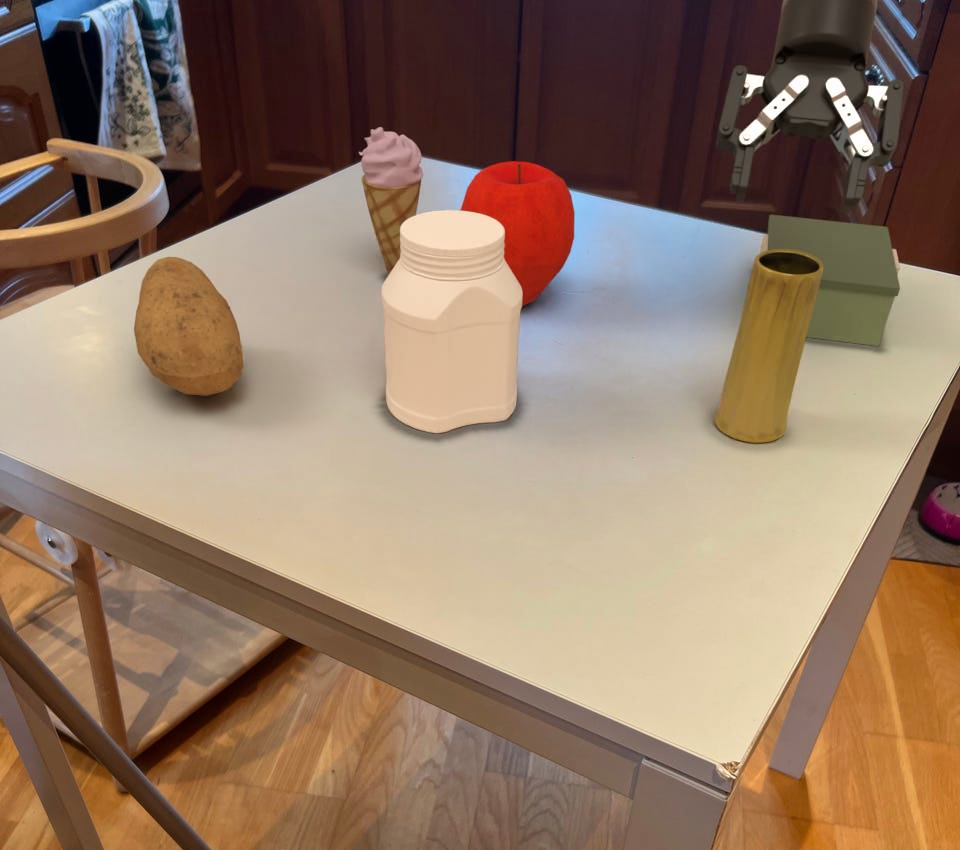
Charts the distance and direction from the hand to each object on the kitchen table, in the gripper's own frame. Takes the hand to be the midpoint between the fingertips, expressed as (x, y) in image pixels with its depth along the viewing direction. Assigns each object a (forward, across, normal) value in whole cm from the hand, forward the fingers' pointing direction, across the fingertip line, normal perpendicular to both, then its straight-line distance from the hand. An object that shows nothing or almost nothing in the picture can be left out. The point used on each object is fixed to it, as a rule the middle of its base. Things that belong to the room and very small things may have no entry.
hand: (793, 203), depth 80 cm
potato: (+22, -49, +1) cm, 54 cm away
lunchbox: (-2, +6, +24) cm, 25 cm away
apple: (+4, -25, +18) cm, 31 cm away
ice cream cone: (+2, -39, +20) cm, 44 cm away
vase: (+18, 0, +5) cm, 18 cm away
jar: (+20, -26, +3) cm, 33 cm away
